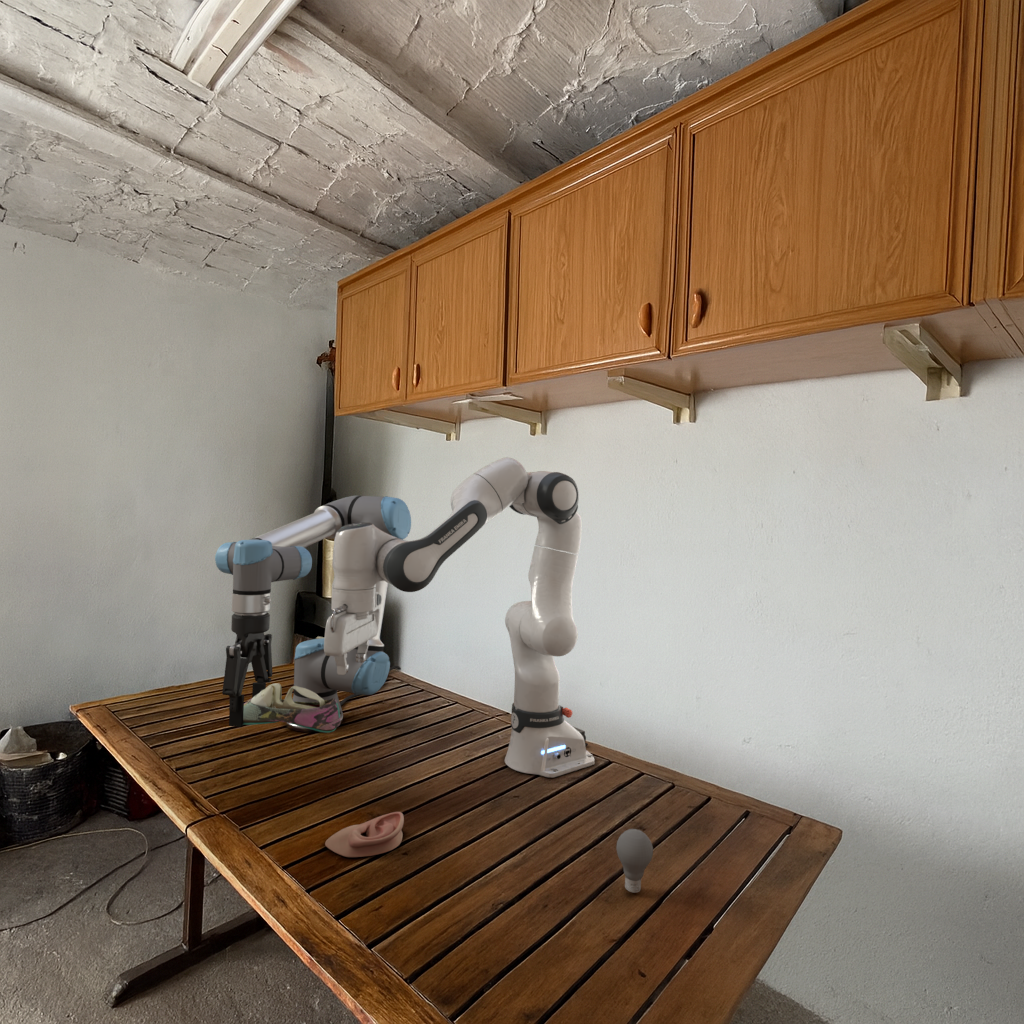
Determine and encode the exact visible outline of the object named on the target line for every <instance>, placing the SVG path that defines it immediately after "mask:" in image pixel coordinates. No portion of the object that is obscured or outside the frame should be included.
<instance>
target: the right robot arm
mask: <svg viewBox="0 0 1024 1024" xmlns="http://www.w3.org/2000/svg"><path fill="white" fill-rule="evenodd" d="M579 496H580V495H579V489H578V485H577V483H576V481H575V480H574V478H572V477H571V476H570V475H568V474H566V473H562V472H559V471H553V472H552V471H547V470H537V471H530V472H529V471H526V469H525V467H524V465H522V463H521V462H519V461H518V460H517V459H515V458H513V457H508V456H507V457H502V458H500V459H497V460H495V461H492V462H491V463H489V464H487V465H485V466H483V467H482V468H480V469H478V470H477V471H475V472H473V473H472V474H471V475H470V476H468V477H466V478H465V479H464V480H463V481H461V483H459V485H458V486H457V487H456V488H454V490H453V491H452V492H451V496H450V507H451V510H452V512H451V514H450V515H448V517H447V518H446V519H445V520H443V521H442V522H441V523H440V524H438V525H437V526H436V527H434V528H433V529H432V530H431V531H430V532H429V533H427V534H426V535H424V536H423V537H421V538H419V539H415V540H406V539H403V540H402V539H399V538H397V537H394V536H391V535H389V534H387V533H385V532H383V531H381V530H380V529H378V528H377V527H375V526H374V525H373V524H372V523H368V522H362V523H353V524H348V525H345V526H343V527H341V528H340V529H339V530H338V531H337V533H336V536H335V538H334V541H333V548H332V565H331V566H332V570H333V581H332V584H331V606H330V607H331V610H332V614H331V615H330V616H328V618H327V619H326V624H325V629H324V637H325V638H324V652H325V654H326V655H327V656H334V659H335V662H336V665H337V674H339V675H344V674H346V673H347V672H348V664H347V662H346V658H347V653H348V652H349V651H351V650H353V649H354V648H356V647H358V652H357V654H356V662H360V663H362V662H364V661H365V660H366V653H367V650H368V646H369V640H370V639H372V638H373V637H375V636H376V635H377V633H378V629H379V619H380V606H379V605H380V604H382V595H381V594H379V593H377V592H376V583H377V582H378V581H385V582H387V583H388V584H390V585H392V587H394V588H396V589H397V590H399V591H402V592H405V593H416V592H419V591H421V590H423V589H425V588H426V587H427V586H428V585H429V584H430V583H431V582H432V581H433V579H435V576H436V575H437V572H438V571H439V569H440V568H441V566H442V565H443V563H444V562H445V561H446V560H447V559H448V558H449V557H451V556H452V555H454V553H455V552H456V551H458V550H459V549H460V548H461V547H462V546H463V545H464V544H465V543H467V542H468V541H469V540H470V539H471V538H472V537H473V536H474V535H476V533H478V532H479V530H481V529H482V528H483V527H484V526H485V525H487V524H488V523H490V522H491V521H492V520H493V519H495V518H496V517H498V516H499V515H501V513H503V512H504V511H505V510H507V509H508V508H510V509H511V510H512V511H514V512H515V513H517V514H520V515H525V516H529V517H535V518H536V519H537V524H538V532H537V535H536V539H535V543H534V547H533V551H532V555H531V561H530V565H529V570H528V575H527V577H528V582H529V585H530V595H531V596H530V599H531V600H522V601H521V600H520V601H517V602H515V603H513V604H512V605H511V606H510V607H508V610H507V612H506V613H505V618H504V623H505V627H506V630H507V632H508V636H509V640H510V647H511V654H512V661H513V669H514V670H513V671H514V687H513V689H514V690H513V703H512V704H511V717H510V722H511V724H510V726H511V732H510V738H509V743H508V747H507V751H506V754H505V757H504V763H505V765H506V766H507V767H509V768H510V769H512V770H513V771H517V772H520V773H523V774H528V775H529V774H530V775H538V776H541V777H545V778H551V779H552V778H557V777H561V776H564V775H566V774H570V773H572V772H576V771H578V770H581V769H586V768H588V767H591V766H593V765H595V763H596V762H595V761H596V760H595V756H593V754H592V753H591V752H589V750H588V749H587V746H589V744H588V742H586V741H587V737H586V731H585V730H583V729H580V728H578V727H576V726H573V725H572V724H570V723H569V722H567V721H566V720H565V718H568V719H569V718H571V717H572V716H573V711H572V709H570V708H568V707H564V706H562V705H561V704H560V703H559V702H560V682H561V681H560V680H561V676H560V672H559V669H558V667H557V665H556V661H555V657H563V656H566V655H568V654H569V653H570V652H572V651H573V649H574V648H575V647H576V644H577V642H578V638H579V632H578V627H577V625H576V622H575V620H574V615H573V614H574V613H573V583H574V577H575V573H576V568H577V567H576V566H577V562H578V558H579V554H580V548H581V543H582V542H581V541H582V532H583V531H582V529H583V527H582V526H583V521H582V516H581V515H580V513H579V512H578V509H579V499H580V497H579ZM564 716H565V717H564Z"/></svg>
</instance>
